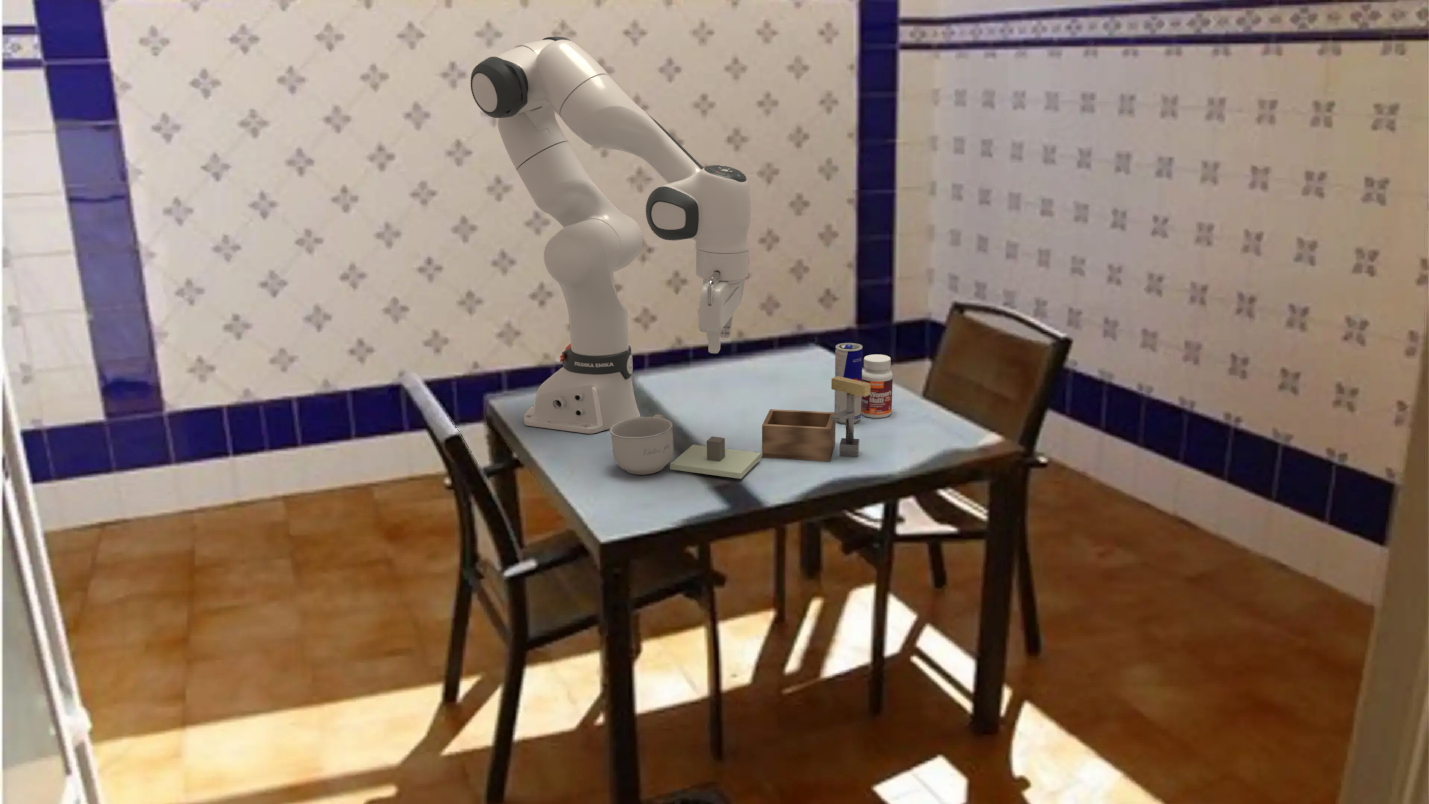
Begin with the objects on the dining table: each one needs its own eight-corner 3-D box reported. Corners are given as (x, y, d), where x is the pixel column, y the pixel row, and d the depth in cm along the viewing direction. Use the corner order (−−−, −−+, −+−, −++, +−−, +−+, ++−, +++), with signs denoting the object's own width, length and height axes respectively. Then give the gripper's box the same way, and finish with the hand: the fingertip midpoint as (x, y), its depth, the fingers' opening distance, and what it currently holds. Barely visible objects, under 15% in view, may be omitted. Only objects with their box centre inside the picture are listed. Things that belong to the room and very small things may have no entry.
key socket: (839, 455, 210) (839, 444, 209) (841, 449, 213) (841, 438, 212) (857, 456, 209) (857, 445, 209) (859, 450, 212) (859, 439, 212)
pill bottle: (869, 420, 228) (871, 364, 224) (854, 411, 233) (855, 355, 230) (897, 416, 230) (899, 360, 226) (881, 406, 235) (882, 352, 232)
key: (851, 452, 205) (852, 390, 202) (818, 443, 210) (819, 383, 206) (868, 444, 209) (870, 383, 205) (836, 435, 213) (837, 376, 210)
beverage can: (859, 425, 225) (861, 349, 220) (832, 424, 226) (834, 348, 221) (862, 416, 230) (863, 342, 225) (835, 415, 231) (836, 341, 226)
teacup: (650, 484, 199) (649, 440, 196) (599, 472, 204) (597, 429, 202) (695, 458, 210) (694, 416, 208) (645, 448, 216) (644, 406, 213)
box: (762, 457, 210) (762, 425, 208) (770, 440, 218) (770, 409, 217) (829, 461, 208) (830, 429, 206) (835, 443, 216) (835, 412, 214)
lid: (670, 473, 204) (669, 444, 203) (693, 453, 213) (692, 426, 211) (740, 483, 199) (740, 453, 198) (761, 462, 208) (761, 434, 207)
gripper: (729, 280, 189) (726, 363, 193) (751, 253, 207) (748, 330, 212) (690, 277, 190) (688, 360, 194) (715, 251, 209) (713, 327, 213)
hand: (719, 344), depth 203 cm, fingers open, 8 cm apart
